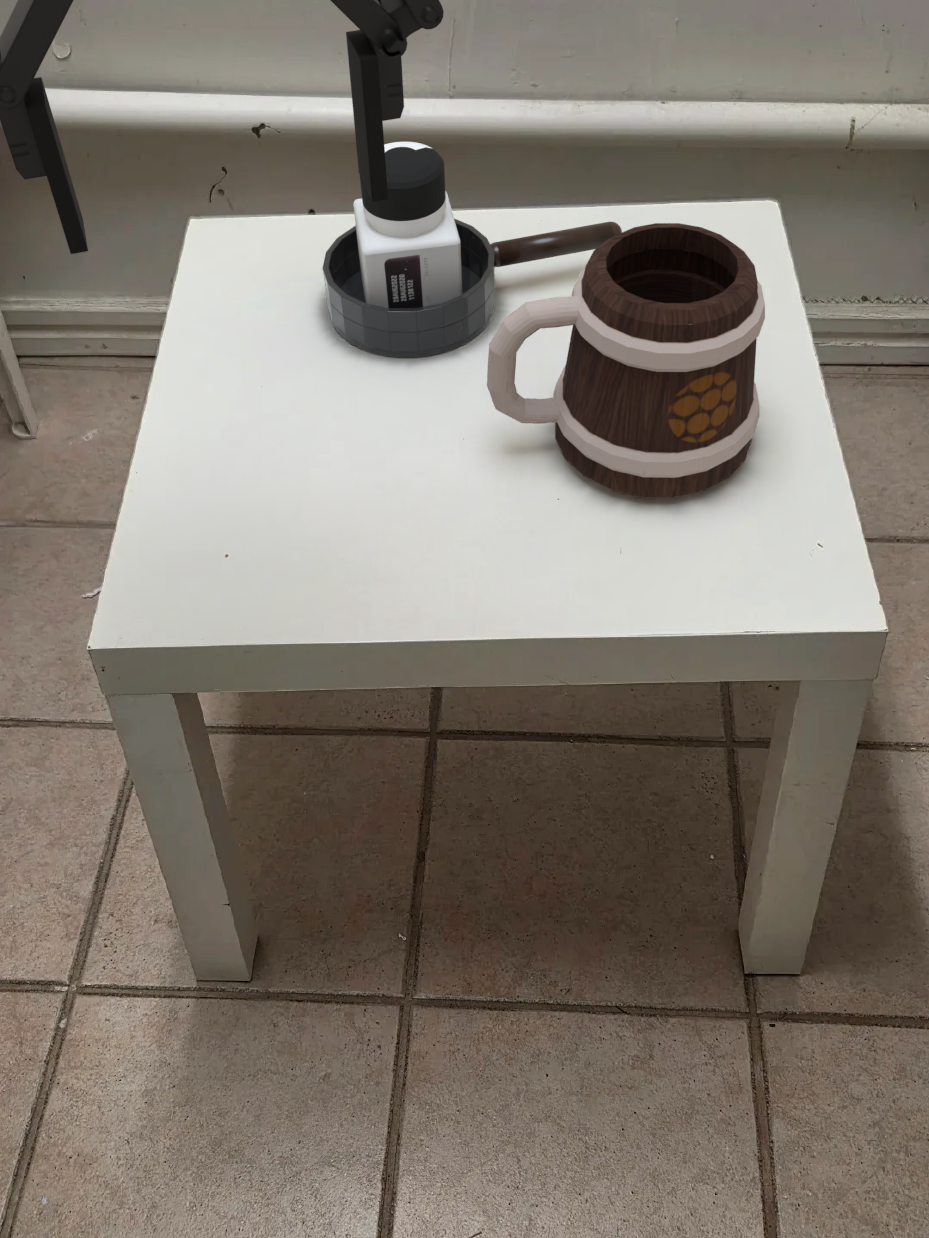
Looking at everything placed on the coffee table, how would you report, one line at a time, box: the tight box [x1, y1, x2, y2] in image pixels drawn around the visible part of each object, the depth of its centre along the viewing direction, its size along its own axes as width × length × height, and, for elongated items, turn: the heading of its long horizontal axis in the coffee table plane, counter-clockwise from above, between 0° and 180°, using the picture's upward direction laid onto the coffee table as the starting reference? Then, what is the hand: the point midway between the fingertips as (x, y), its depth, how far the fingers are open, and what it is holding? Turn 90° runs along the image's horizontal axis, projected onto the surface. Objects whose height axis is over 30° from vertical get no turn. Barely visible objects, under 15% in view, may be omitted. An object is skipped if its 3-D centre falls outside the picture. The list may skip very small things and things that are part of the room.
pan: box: [322, 218, 496, 359], centre depth 99 cm, size 14×14×4 cm
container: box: [353, 141, 462, 308], centre depth 96 cm, size 8×8×13 cm
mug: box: [486, 222, 766, 499], centre depth 84 cm, size 20×15×15 cm
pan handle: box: [490, 221, 623, 268], centre depth 100 cm, size 12×2×2 cm, turn 105°
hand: (228, 211), depth 54 cm, fingers open, 13 cm apart
